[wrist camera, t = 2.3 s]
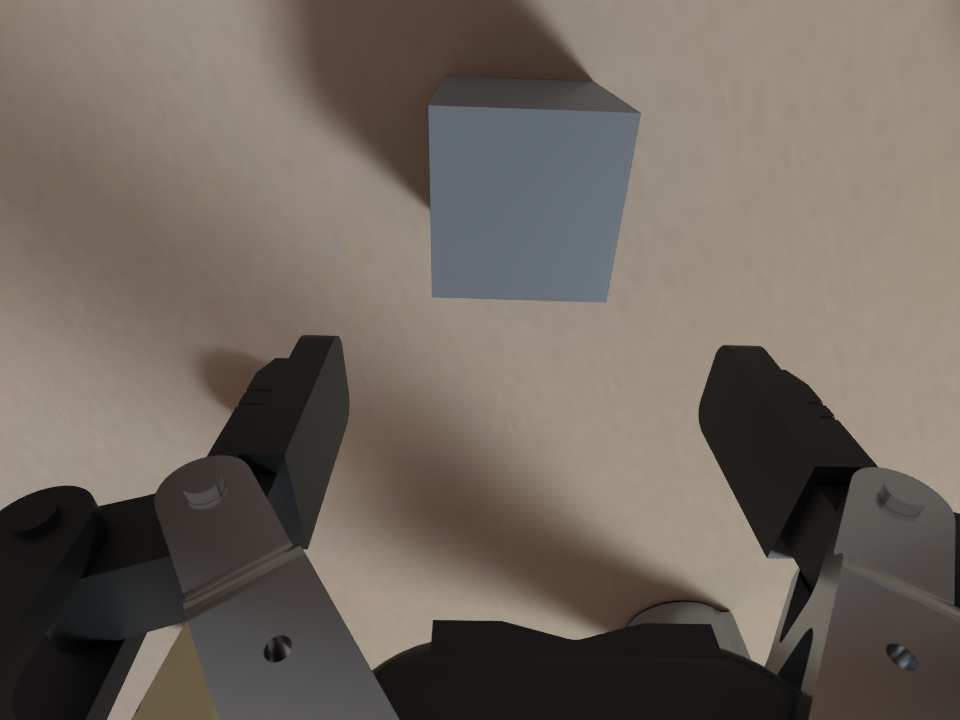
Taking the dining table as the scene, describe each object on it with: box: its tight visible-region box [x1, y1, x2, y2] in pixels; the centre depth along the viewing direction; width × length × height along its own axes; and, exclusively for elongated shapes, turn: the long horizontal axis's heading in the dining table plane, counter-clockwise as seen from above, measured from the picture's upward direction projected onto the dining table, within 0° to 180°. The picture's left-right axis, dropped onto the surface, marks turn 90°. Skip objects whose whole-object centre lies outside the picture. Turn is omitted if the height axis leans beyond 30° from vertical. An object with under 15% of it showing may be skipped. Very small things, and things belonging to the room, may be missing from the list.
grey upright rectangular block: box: [428, 76, 641, 303], centre depth 23 cm, size 7×7×9 cm
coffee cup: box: [132, 621, 219, 720], centre depth 45 cm, size 9×9×12 cm
